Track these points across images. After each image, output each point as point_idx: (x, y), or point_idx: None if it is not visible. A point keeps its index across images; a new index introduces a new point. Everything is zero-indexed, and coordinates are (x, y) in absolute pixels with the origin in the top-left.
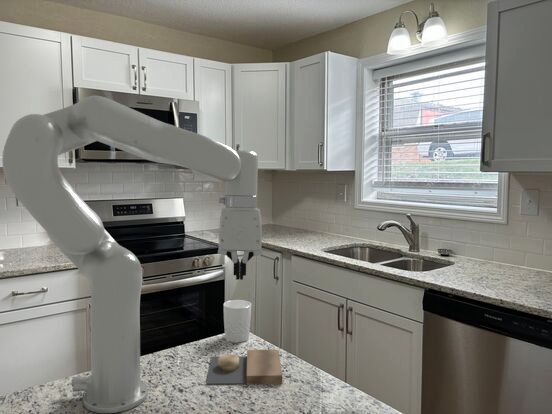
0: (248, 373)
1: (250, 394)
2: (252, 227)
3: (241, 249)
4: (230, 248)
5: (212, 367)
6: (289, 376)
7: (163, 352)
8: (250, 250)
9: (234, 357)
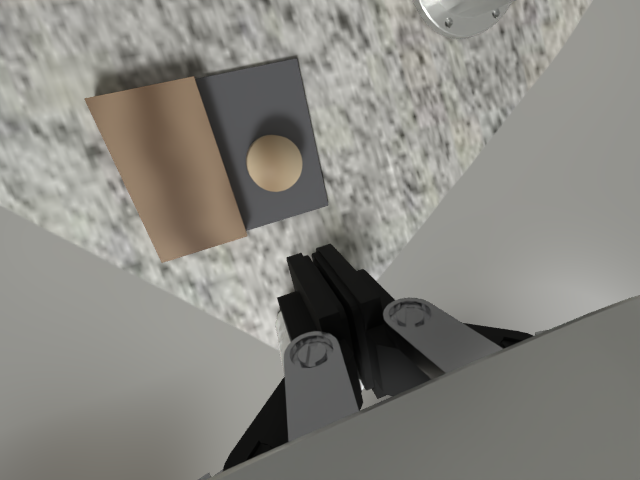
0: (193, 91)
1: (163, 21)
2: None
3: (421, 399)
4: (611, 331)
5: (309, 149)
6: (90, 152)
7: (432, 201)
8: (238, 465)
9: (263, 176)
